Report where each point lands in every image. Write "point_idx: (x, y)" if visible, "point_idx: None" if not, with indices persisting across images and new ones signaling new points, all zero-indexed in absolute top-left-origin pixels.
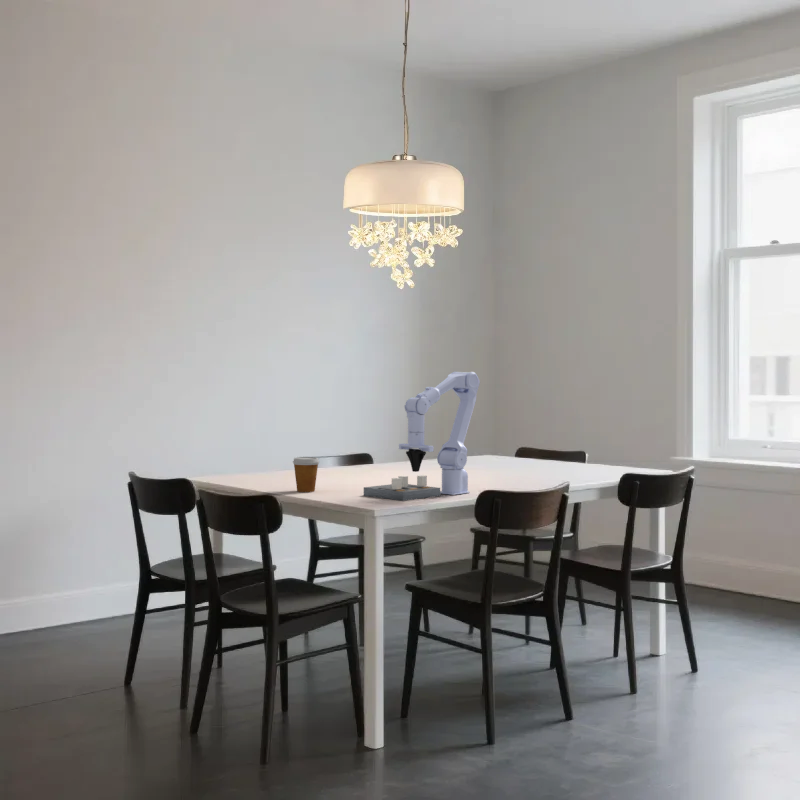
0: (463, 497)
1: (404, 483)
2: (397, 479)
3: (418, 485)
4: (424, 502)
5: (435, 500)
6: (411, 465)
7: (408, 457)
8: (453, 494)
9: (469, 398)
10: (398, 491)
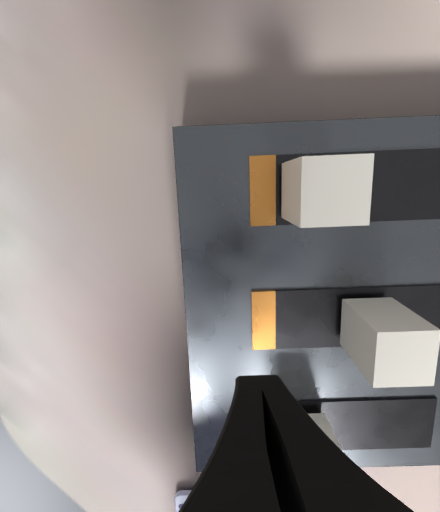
0: (92, 475)
1: (350, 320)
2: (300, 169)
3: (312, 414)
4: (51, 188)
5: (84, 298)
6: (296, 409)
7: (403, 506)
8: (175, 495)
9: None
10: (230, 133)
